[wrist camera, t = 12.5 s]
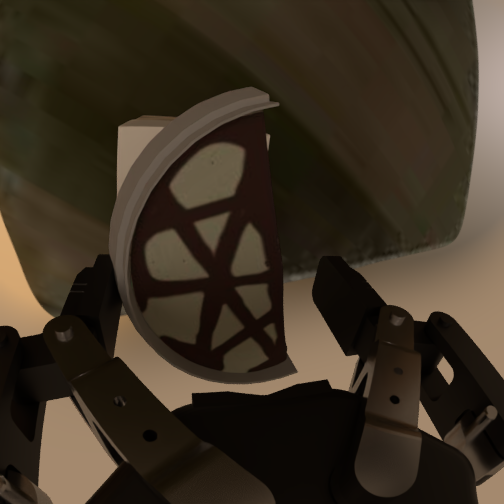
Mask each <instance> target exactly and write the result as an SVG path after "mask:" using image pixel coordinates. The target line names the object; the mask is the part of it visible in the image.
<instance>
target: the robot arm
mask: <svg viewBox="0 0 504 504" xmlns="http://www.w3.org/2000/svg"><path fill="white" fill-rule="evenodd" d="M312 297H313V301H314V303H315V305H316V306H317V308H318V309H319V311H320V313H321V314H322V316H323V318H324V320H325V321H326V323H327V325H328V327H329V328H330V330H331V332H332V333H333V335H334V337H335V338H336V340H337V342H338V344H339V345H340V347H341V349H342V350H343V352H344V354H345V355H346V356H351V355H357V354H358V355H359V358H358V360H357V363H356V366H355V370H354V373H353V377H352V380H351V384H350V387H349V391H345V390H339V389H332V388H331V386H330V384H329V382H328V380H327V379H326V380H321V381H314V382H308V383H302V384H296V385H293V386H291V387H288V388H286V389H283V390H280V391H277V392H275V393H272V394H269V395H254V394H245V393H236V392H229V391H227V392H210V393H192V404H189V405H185V406H182V407H180V408H177V409H175V410H173V411H172V412H170V411H169V410H168V409H167V408H166V407H165V406H164V405H163V404H162V403H161V402H160V401H159V400H158V399H157V398H156V397H155V396H154V395H153V394H152V392H151V391H149V389H148V388H147V387H146V386H145V385H144V384H143V383H142V382H141V381H140V380H139V379H138V377H136V375H135V374H134V373H133V372H132V371H131V370H130V369H129V367H127V365H126V364H125V363H124V362H123V361H122V360H121V359H120V358H119V357H115V358H113V357H114V350H115V343H116V337H117V330H118V325H119V319H120V313H121V308H122V300H121V298H120V295H119V292H118V289H117V285H116V282H115V277H114V268H113V263H112V260H111V257H110V255H108V254H99V255H98V257H97V259H96V261H95V264H94V266H93V267H85V268H84V269H83V270H82V271H81V272H80V273H79V274H77V276H76V278H75V281H74V283H73V285H72V288H71V290H70V292H69V295H68V297H67V300H66V302H65V305H64V307H63V310H62V312H61V315H60V316H58V317H55V318H53V319H52V320H50V321H49V322H48V323H47V324H46V325H45V327H44V329H43V333H41V334H38V335H33V336H27V337H22V338H20V336H19V334H18V331H17V330H16V329H15V328H13V327H11V326H0V504H53V503H52V501H51V500H50V498H49V497H48V496H47V494H45V493H44V492H43V491H42V490H41V489H40V488H38V476H39V460H40V448H41V439H42V429H43V421H44V415H45V408H46V402H47V401H48V400H53V399H59V398H64V397H70V399H71V401H72V402H73V404H74V406H75V407H76V409H77V410H78V412H79V413H80V415H81V416H82V418H83V419H84V421H85V422H86V424H87V425H88V426H89V428H90V429H91V431H92V432H93V434H94V435H95V437H96V438H97V439H98V441H99V442H100V444H101V445H102V447H103V448H104V450H105V451H106V453H107V454H108V455H109V457H110V458H111V459H112V461H113V462H114V463H115V464H116V465H117V467H118V468H117V469H116V470H115V471H114V472H113V473H112V474H111V476H110V477H109V478H108V479H107V480H106V481H105V482H104V484H102V486H101V487H100V488H99V489H98V490H97V491H96V492H95V493H94V494H93V496H92V497H91V498H90V499H89V500H88V501H87V502H86V503H85V504H478V499H477V492H476V486H478V485H480V484H482V483H483V482H485V481H486V480H487V479H489V478H490V477H492V476H493V475H494V474H496V473H497V472H498V471H499V470H501V469H502V468H503V467H504V380H503V378H502V377H501V376H500V374H499V373H498V372H497V370H496V369H495V368H494V367H493V365H492V364H491V363H490V361H489V360H488V359H487V358H486V356H485V355H484V354H483V353H482V351H481V350H480V349H479V348H478V346H477V345H476V344H475V343H474V342H473V340H472V339H471V338H470V337H469V336H468V334H467V333H466V332H465V331H464V330H463V329H462V327H461V326H460V325H459V324H458V323H457V322H456V320H455V319H454V318H452V317H451V316H450V315H448V314H445V313H443V312H433V313H431V315H430V316H429V318H428V320H427V322H422V321H414V320H413V317H412V316H411V315H410V314H409V312H407V311H406V310H404V309H403V308H400V307H398V306H394V305H387V304H386V303H385V302H384V301H383V300H382V298H381V297H380V296H379V295H378V294H377V292H376V291H375V290H374V289H373V288H372V287H371V286H370V284H369V283H368V282H366V280H365V279H364V277H363V276H362V275H361V274H360V273H358V272H357V271H355V270H354V269H352V268H351V267H349V265H348V264H347V263H346V262H345V261H344V260H343V259H342V257H340V256H323V257H322V258H321V259H320V261H319V265H318V269H317V273H316V277H315V281H314V285H313V289H312ZM443 356H444V357H445V359H446V360H447V362H448V363H449V364H450V365H451V367H452V368H453V372H454V378H453V380H452V382H451V383H450V385H449V384H448V383H447V382H446V380H445V379H444V377H443V376H442V374H441V373H440V371H439V370H438V368H437V365H438V364H439V362H440V361H441V359H442V358H443ZM419 401H421V403H422V405H423V407H424V408H425V410H426V412H427V414H428V415H429V417H430V419H431V421H432V422H433V424H434V426H435V428H436V429H437V431H438V433H439V435H440V436H441V438H442V440H443V441H441V440H439V439H437V438H436V437H434V436H432V435H430V434H428V433H426V432H424V431H422V430H420V429H419V428H418V415H419Z"/></svg>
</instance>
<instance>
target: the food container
mask: <svg viewBox="0 0 504 504" xmlns="http://www.w3.org/2000/svg"><path fill="white" fill-rule="evenodd" d="M275 106H279V103H277V102H270V101H269V94H267V93H265V92H263V91H260V90H258V89H256V88H253V87H247V88H242V89H238V90H234V91H229V92H225V93H222V94H220V95H218V96H215V97H213V98H210V99H208V100H206V101H203V102H201V103H199V104H197V105H195V106H193V107H192V108H190V109H189V110H187V111H186V112H184V113H183V114H181V115H180V116H178V117H177V118H175V119H174V120H172V121H171V122H170V123H169V124H168V125H166V126H165V127H164V128H163V129H162V130H161V131H160V132H159V133H158V134H157V135H156V136H155V137H154V138H153V139H152V140H151V141H150V142H149V143H148V144H147V145H146V147H145V148H144V150H143V151H142V152H141V154H140V155H139V156H138V158H137V159H136V160H135V162H134V163H133V165H132V166H131V168H130V170H129V172H128V174H127V176H126V178H125V180H124V182H123V184H122V186H121V188H120V190H119V193H118V196H117V199H116V203H115V206H114V210H113V214H112V218H111V223H110V236H109V253H110V257H111V260H112V263H113V268H114V277H115V282H116V285H117V289H118V292H119V295H120V298H121V300H122V303H123V306H124V308H125V311H126V313H127V315H128V316H129V318H130V320H131V322H132V323H133V325H134V327H135V329H136V330H137V332H138V333H139V334H140V335H141V336H142V337H143V338H144V340H145V341H146V342H147V343H148V344H149V345H150V346H151V347H152V348H153V349H154V350H155V351H156V352H157V354H158V355H160V356H161V357H162V358H163V359H165V360H166V361H167V362H169V363H170V364H171V365H173V366H174V367H176V368H177V369H179V370H181V371H183V372H185V373H187V374H189V375H192V376H194V377H197V378H201V379H204V380H207V381H212V382H218V383H224V384H252V383H261V382H266V381H271V380H275V379H279V378H283V377H286V376H289V375H292V374H294V373H297V370H296V368H295V366H294V365H293V363H292V361H291V359H290V358H289V356H288V354H287V346H286V342H285V333H284V316H283V264H282V257H281V250H280V243H279V237H278V230H277V223H276V216H275V208H274V201H273V193H272V184H271V175H270V166H269V157H268V148H267V139H266V131H265V122H264V114H263V111H258V110H262V109H266V108H271V107H275Z"/></svg>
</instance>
